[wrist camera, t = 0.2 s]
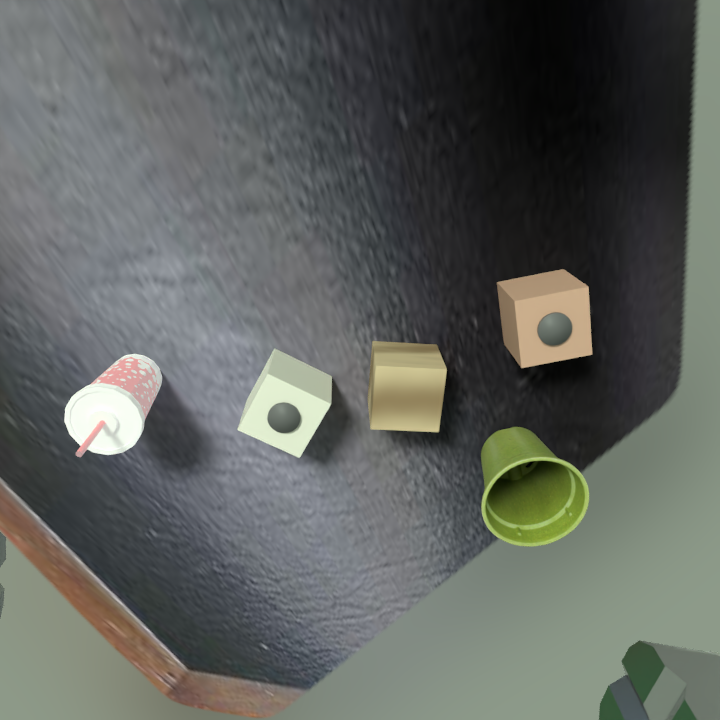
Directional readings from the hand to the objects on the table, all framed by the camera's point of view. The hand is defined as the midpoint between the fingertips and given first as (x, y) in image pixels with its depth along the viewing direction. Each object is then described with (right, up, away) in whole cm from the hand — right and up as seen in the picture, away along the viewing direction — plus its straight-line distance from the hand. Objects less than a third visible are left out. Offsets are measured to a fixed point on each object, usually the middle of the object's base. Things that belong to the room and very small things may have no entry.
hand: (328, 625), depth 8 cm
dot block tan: (+16, +8, +49) cm, 52 cm away
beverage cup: (-20, +2, +50) cm, 54 cm away
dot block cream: (-6, +1, +51) cm, 51 cm away
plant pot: (+16, -6, +54) cm, 57 cm away
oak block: (+4, +2, +51) cm, 51 cm away
